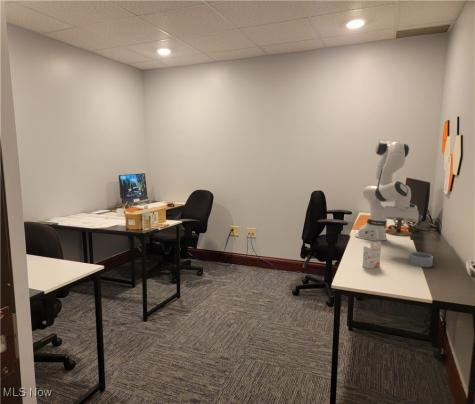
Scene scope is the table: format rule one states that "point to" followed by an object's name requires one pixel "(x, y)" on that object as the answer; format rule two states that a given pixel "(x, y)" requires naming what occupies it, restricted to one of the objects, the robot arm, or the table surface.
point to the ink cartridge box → (372, 255)
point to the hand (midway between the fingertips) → (399, 225)
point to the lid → (398, 230)
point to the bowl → (420, 259)
